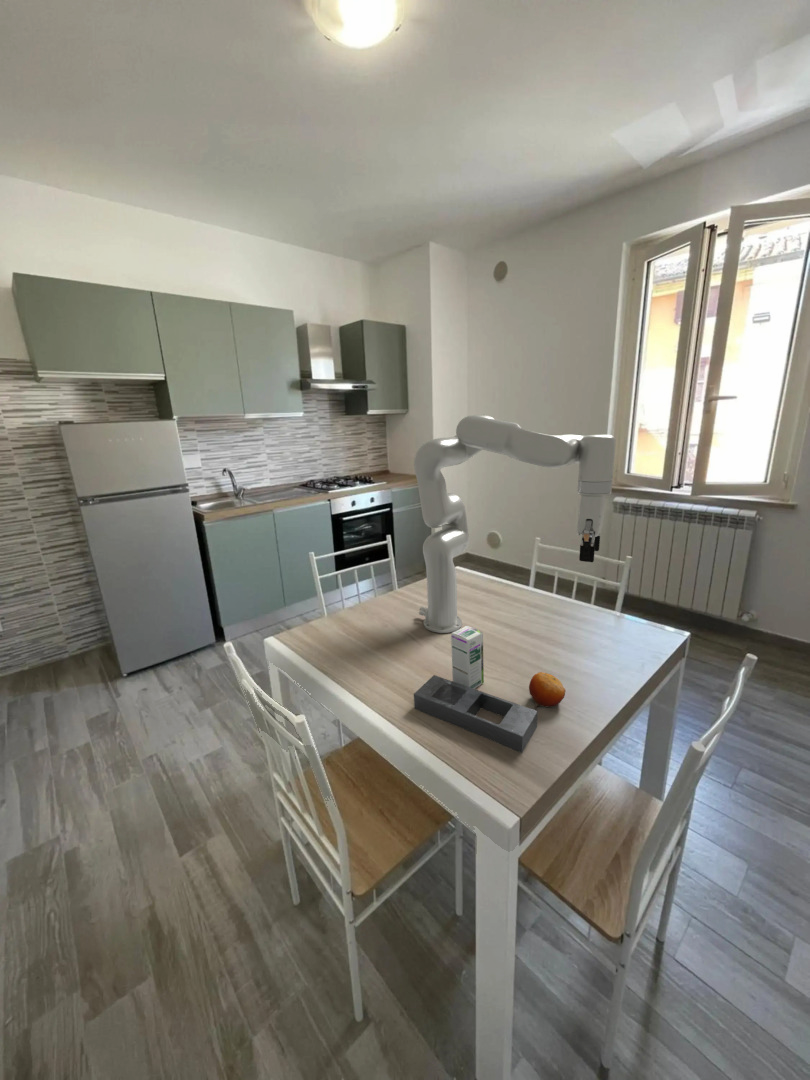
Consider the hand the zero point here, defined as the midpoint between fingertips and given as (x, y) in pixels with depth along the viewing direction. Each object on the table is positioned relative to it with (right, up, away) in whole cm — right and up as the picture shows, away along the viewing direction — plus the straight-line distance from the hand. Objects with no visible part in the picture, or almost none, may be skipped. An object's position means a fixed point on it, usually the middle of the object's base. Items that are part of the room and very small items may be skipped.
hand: (589, 555), depth 106 cm
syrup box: (-30, -33, +2) cm, 45 cm away
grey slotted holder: (-31, -36, -11) cm, 49 cm away
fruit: (-13, -34, -6) cm, 37 cm away
